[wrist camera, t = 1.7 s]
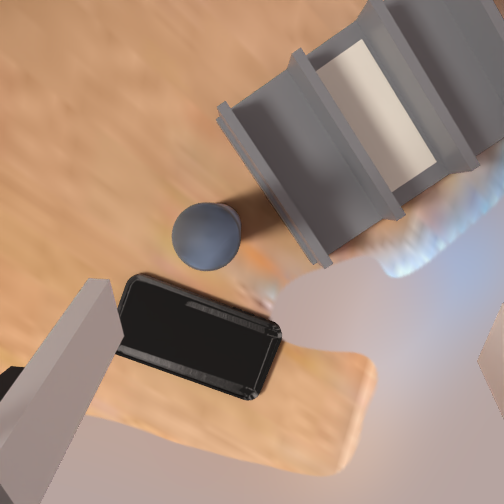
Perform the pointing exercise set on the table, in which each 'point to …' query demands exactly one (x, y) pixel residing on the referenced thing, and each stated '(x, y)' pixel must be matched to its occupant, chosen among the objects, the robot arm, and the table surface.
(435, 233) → the table surface
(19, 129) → the table surface
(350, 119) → the rack
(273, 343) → the phone
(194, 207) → the grey cylinder
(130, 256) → the table surface
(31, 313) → the table surface
